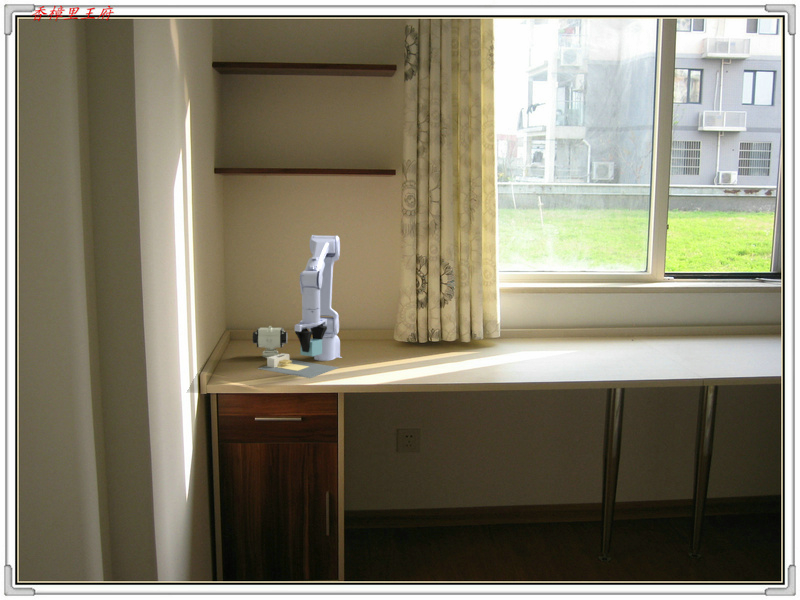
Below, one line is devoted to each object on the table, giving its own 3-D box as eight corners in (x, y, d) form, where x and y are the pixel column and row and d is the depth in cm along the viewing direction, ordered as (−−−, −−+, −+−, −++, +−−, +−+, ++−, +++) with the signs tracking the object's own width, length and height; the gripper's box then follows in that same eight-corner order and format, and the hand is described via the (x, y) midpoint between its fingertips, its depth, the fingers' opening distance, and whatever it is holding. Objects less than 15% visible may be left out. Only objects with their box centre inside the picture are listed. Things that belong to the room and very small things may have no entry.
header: (282, 361, 240) (282, 352, 239) (296, 364, 237) (296, 355, 236) (267, 366, 233) (267, 357, 232) (281, 368, 230) (281, 359, 230)
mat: (287, 361, 244) (287, 358, 244) (339, 369, 233) (339, 367, 233) (257, 370, 230) (257, 368, 230) (310, 380, 219) (310, 377, 219)
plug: (310, 352, 227) (310, 338, 226) (322, 353, 224) (322, 339, 224) (300, 354, 222) (300, 340, 221) (312, 356, 220) (312, 342, 219)
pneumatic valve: (255, 357, 249) (254, 324, 247) (287, 357, 249) (287, 324, 248) (252, 361, 243) (251, 327, 242) (286, 361, 244) (285, 327, 242)
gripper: (314, 304, 229) (314, 344, 231) (286, 310, 217) (287, 352, 219) (332, 306, 226) (332, 346, 228) (304, 312, 213) (305, 355, 215)
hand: (311, 349), depth 223 cm, fingers closed on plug, 5 cm apart
